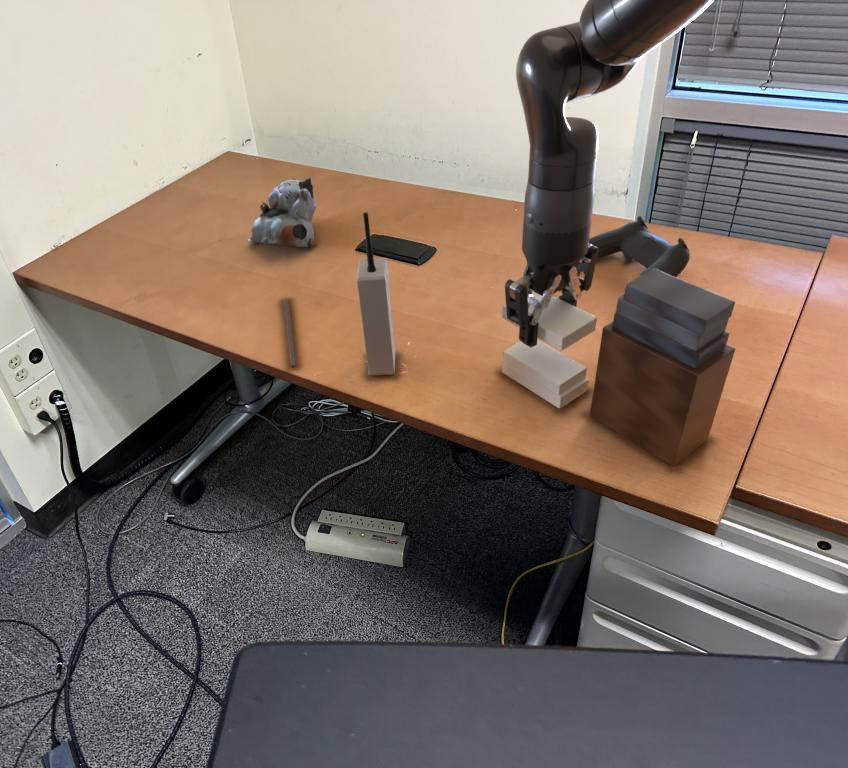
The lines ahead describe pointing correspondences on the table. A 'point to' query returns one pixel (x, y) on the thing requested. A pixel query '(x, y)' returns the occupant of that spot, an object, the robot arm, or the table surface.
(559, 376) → the white stack
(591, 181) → the robot arm
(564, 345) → the white book
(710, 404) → the brown wooden tall block
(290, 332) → the rod
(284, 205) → the lucky cat figurine
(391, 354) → the vintage mobile phone
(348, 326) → the table surface
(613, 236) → the gaming controller
